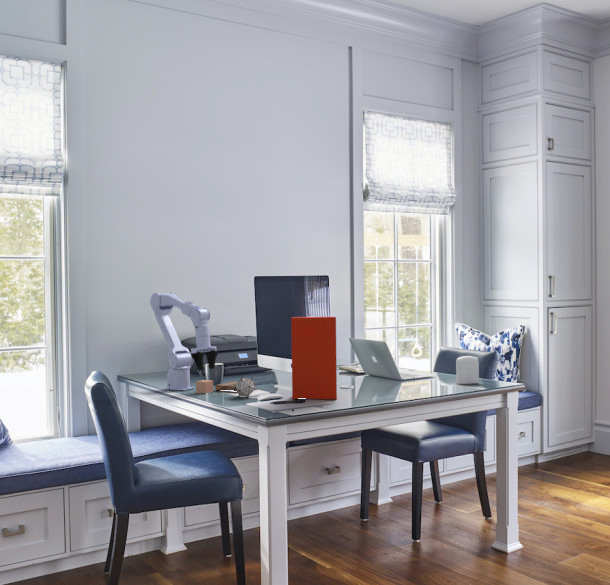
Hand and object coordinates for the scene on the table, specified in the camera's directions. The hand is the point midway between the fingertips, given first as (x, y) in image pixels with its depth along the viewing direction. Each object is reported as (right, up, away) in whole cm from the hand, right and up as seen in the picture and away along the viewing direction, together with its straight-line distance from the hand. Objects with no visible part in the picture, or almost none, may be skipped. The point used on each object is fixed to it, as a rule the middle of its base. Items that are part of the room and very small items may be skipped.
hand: (206, 369), depth 304 cm
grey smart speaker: (+113, -9, +20) cm, 115 cm away
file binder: (+45, -10, -17) cm, 49 cm away
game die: (+17, -10, -12) cm, 23 cm away
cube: (-1, -10, +1) cm, 10 cm away
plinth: (+11, -10, +7) cm, 16 cm away
